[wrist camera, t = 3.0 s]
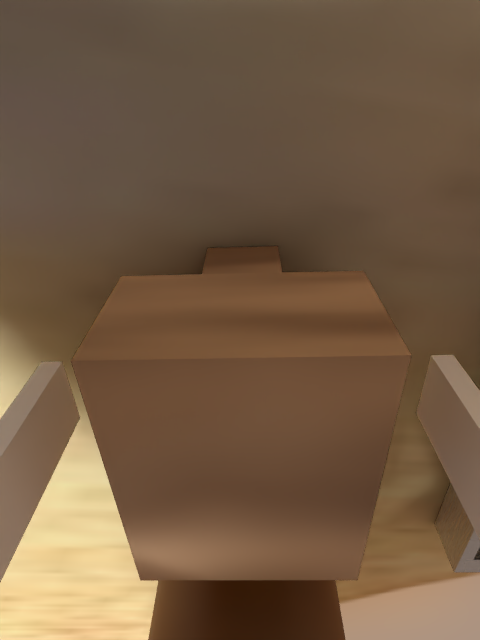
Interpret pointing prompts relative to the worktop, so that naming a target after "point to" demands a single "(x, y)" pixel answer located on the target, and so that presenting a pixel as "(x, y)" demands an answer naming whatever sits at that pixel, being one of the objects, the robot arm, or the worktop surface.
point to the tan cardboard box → (244, 416)
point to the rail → (458, 534)
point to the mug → (246, 610)
